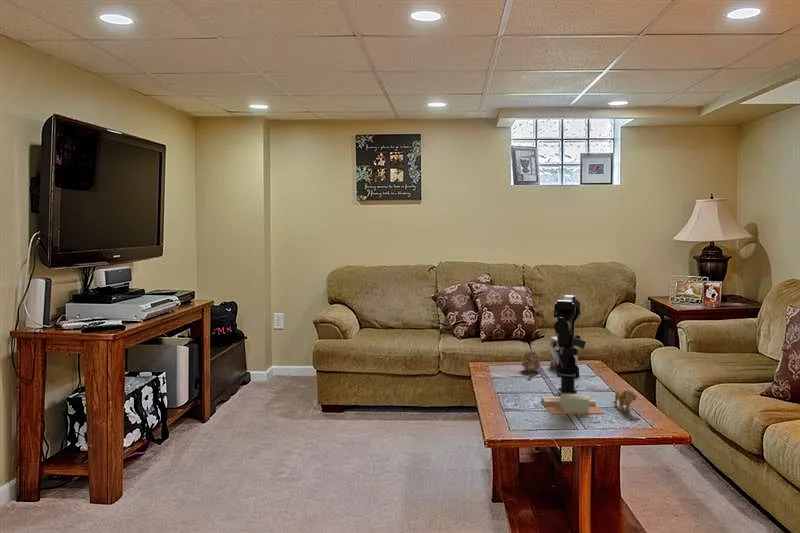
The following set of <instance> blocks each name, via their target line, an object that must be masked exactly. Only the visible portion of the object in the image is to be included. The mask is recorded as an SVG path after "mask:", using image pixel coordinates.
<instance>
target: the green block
mask: <svg viewBox="0 0 800 533" xmlns="http://www.w3.org/2000/svg"><path fill="white" fill-rule="evenodd" d="M559 397H560V407H561V408H562V409H563V411H564V412H589V399H588V398H587V397H586V395H585V394H584V393H573V394H572V393H568V394H567V393H566V394H565V393H563V394H561V393H560V396H559Z"/></svg>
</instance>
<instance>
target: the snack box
mask: <svg viewBox="0 0 800 533" xmlns="http://www.w3.org/2000/svg"><path fill="white" fill-rule="evenodd" d="M554 340H557V336H550V337H549V348H550V349H549V350H550V351H549V352H550V353H549V354H550V355H549V356H550V366H551V367H553V368H554V369H556V370H557V363H559V358H558V356H557V353H556V351H555V350H557V347H555V348H553V347H552V342H553V341H554ZM574 347H575V348H576V349H577V350H578V351H579V349H578V348H579V347H578V346H575V345H574ZM573 356H574V357H575V359H576V364H578V365H579V362H578V360H579V357H578V356H579V354H578V355H573ZM575 375H576V374H575Z"/></svg>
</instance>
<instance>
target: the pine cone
mask: <svg viewBox="0 0 800 533" xmlns="http://www.w3.org/2000/svg"><path fill="white" fill-rule="evenodd" d="M521 357H522V358H521V359H520V363H521V365H522V367H523V368H524V370H526V371H528V373H532V372H536V371H538V369H539V368H541V358H540V356H539V354H538V353H537V352H536V351H534V350H529V352H528V351H526V352H525V353H523V354H522V355H521Z"/></svg>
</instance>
